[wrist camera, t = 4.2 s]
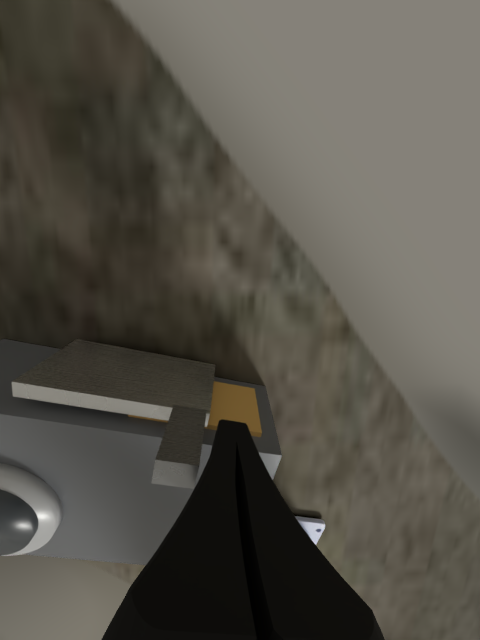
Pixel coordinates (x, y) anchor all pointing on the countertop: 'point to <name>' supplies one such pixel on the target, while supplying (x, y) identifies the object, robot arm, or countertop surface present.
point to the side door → (132, 396)
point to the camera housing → (99, 468)
